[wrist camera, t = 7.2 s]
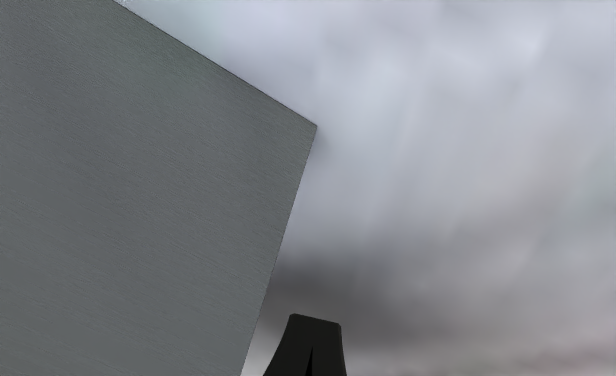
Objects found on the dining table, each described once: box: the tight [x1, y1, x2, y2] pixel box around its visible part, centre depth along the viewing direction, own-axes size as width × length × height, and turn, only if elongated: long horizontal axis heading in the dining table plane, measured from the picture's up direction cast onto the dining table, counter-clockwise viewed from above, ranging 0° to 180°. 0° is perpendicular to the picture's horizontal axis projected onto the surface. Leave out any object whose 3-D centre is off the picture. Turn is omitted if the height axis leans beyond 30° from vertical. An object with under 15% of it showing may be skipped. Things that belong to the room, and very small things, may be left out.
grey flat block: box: [0, 0, 317, 376], centre depth 6 cm, size 8×1×7 cm, turn 60°
